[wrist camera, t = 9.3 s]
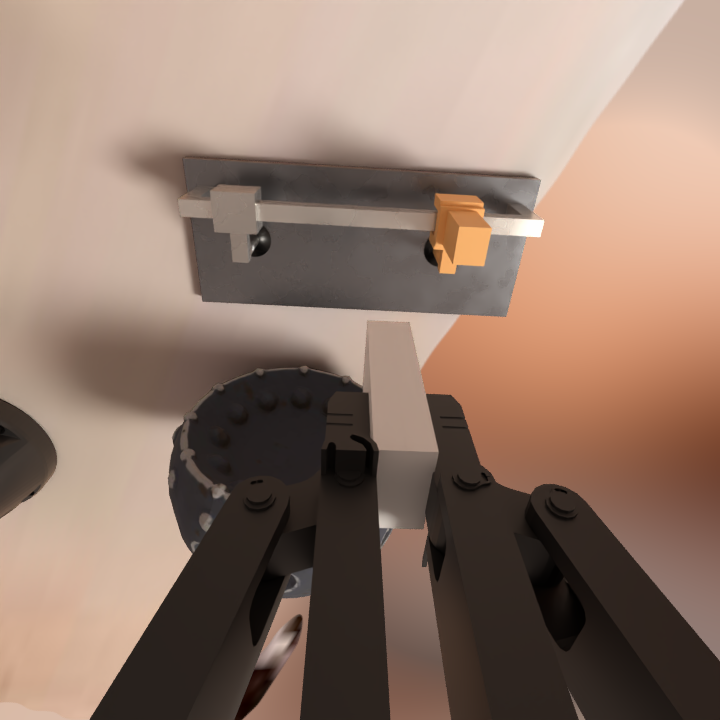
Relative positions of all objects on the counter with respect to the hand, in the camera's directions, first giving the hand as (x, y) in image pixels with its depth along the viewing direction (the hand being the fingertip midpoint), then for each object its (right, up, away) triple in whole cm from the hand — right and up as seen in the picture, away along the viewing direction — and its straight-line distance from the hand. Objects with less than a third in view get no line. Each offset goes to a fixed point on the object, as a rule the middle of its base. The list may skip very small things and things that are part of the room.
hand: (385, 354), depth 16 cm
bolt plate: (-1, +10, +22) cm, 25 cm away
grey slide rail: (-1, +12, +21) cm, 24 cm away
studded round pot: (-7, -4, +32) cm, 33 cm away
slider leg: (+6, +11, +20) cm, 24 cm away
